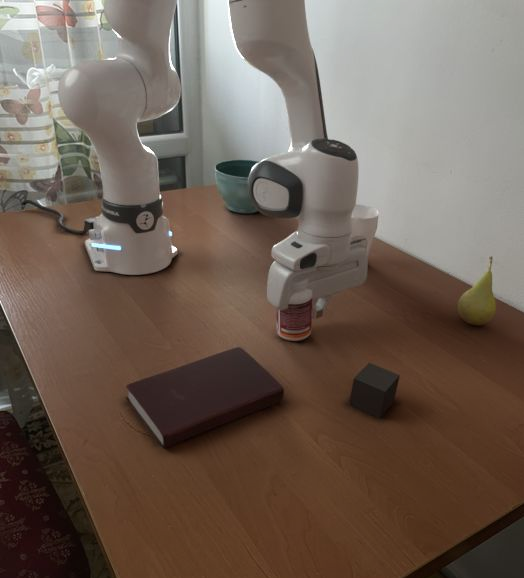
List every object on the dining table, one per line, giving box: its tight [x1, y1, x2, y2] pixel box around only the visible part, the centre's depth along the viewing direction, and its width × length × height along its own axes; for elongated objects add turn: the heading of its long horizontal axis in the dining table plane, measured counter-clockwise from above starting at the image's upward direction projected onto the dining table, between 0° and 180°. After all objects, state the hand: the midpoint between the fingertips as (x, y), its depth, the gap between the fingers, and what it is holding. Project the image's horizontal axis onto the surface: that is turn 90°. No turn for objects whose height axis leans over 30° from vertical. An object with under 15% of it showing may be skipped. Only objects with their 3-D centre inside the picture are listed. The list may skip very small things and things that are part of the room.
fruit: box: [457, 255, 497, 326], centre depth 100 cm, size 7×8×12 cm
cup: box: [351, 204, 380, 255], centre depth 120 cm, size 9×9×12 cm
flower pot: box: [213, 159, 260, 214], centre depth 146 cm, size 16×16×11 cm
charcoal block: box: [348, 362, 401, 419], centre depth 80 cm, size 5×5×5 cm
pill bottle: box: [275, 277, 313, 342], centre depth 93 cm, size 6×6×11 cm
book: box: [125, 346, 285, 449], centre depth 79 cm, size 12×19×3 cm, turn 124°
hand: (315, 316), depth 98 cm, fingers closed
